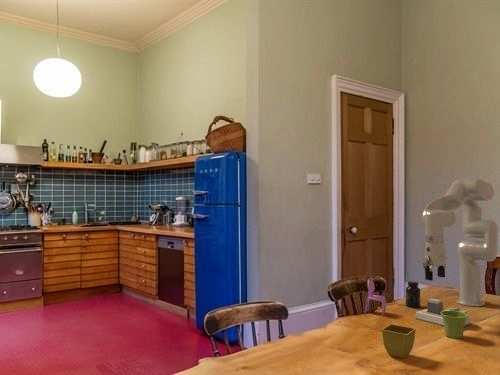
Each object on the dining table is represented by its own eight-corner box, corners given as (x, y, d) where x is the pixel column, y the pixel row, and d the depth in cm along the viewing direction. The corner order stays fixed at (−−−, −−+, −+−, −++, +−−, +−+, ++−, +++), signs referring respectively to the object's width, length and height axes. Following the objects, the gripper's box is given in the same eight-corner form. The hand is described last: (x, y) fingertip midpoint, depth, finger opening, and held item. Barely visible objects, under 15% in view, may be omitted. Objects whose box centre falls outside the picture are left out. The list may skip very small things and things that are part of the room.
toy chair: (382, 316, 193) (382, 282, 193) (363, 313, 198) (363, 280, 198) (387, 312, 200) (386, 279, 200) (368, 309, 205) (368, 277, 205)
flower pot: (391, 348, 153) (391, 323, 153) (416, 354, 147) (416, 328, 147) (381, 356, 146) (381, 329, 146) (407, 362, 140) (407, 334, 140)
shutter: (451, 313, 186) (450, 305, 186) (467, 317, 180) (467, 308, 180) (442, 316, 182) (442, 308, 182) (458, 320, 176) (458, 311, 176)
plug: (432, 316, 191) (431, 298, 191) (442, 318, 187) (442, 300, 187) (427, 317, 189) (427, 299, 189) (438, 320, 185) (438, 301, 185)
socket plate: (431, 314, 196) (430, 306, 196) (470, 324, 181) (470, 315, 181) (415, 318, 189) (415, 310, 189) (455, 329, 174) (455, 320, 174)
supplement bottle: (422, 308, 206) (422, 283, 207) (408, 308, 207) (408, 283, 207) (417, 304, 213) (417, 280, 213) (403, 304, 213) (403, 280, 214)
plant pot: (470, 341, 160) (470, 318, 160) (443, 339, 162) (443, 316, 162) (463, 333, 169) (463, 311, 169) (438, 331, 171) (438, 309, 171)
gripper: (431, 242, 180) (432, 282, 180) (453, 238, 191) (453, 277, 191) (415, 240, 186) (416, 280, 186) (437, 237, 197) (437, 274, 197)
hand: (435, 278), depth 189 cm, fingers open, 9 cm apart
